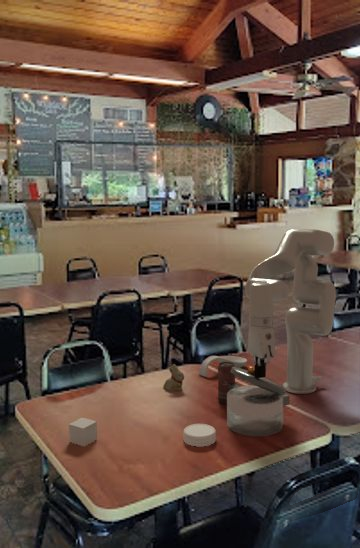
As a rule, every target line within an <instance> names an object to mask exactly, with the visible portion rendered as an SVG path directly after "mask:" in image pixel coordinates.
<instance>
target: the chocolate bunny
mask: <svg viewBox="0 0 360 548" xmlns="http://www.w3.org/2000/svg"><path fill="white" fill-rule="evenodd" d="M168 370H169V372H170V374H171V377H169V378H167V379H165V382H164V384H163V385H162V386H163V389H165V390H166V391H171V392H180V391H182V390H183V381H184V380H185V374H184V373H183V371H181V370H180V369H179V367H178V366H177V365H176V364H175V363H173V364H172V365H171V366H169V367H168Z"/></svg>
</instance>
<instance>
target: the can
mask: <svg viewBox="0 0 360 548" xmlns="http://www.w3.org/2000/svg"><path fill="white" fill-rule="evenodd" d="M232 367H235V365H234V363H231V362H222V363H220V362H219V363H218V366H217V390H218V391H217V400H218V402H219V403H221V404H224V405H227V393H228V392H229V391H230V390H231V389H229V388H228V383H234V382H235V383H236V376H235V375H234V374H232V373H231V369H232Z"/></svg>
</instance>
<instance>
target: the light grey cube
mask: <svg viewBox="0 0 360 548" xmlns="http://www.w3.org/2000/svg"><path fill="white" fill-rule="evenodd" d="M97 424H98V423H97V421H96V420H92V419H90V418H85V417H80V418H78V419H76V420H74V421H72V422H71V423H68V431H69V432H68V434H69V443H70V442H72V443H71V444H73V443H75V444H74V445H76V444H78V445H77V446H79V445H81V446H80V447H83V446H84V447H83V448H85V447H87V446H89V445H90V444H92V443H94V442H96V441H98V425H97ZM95 440H96V441H95ZM88 444H89V445H88ZM86 445H87V446H86Z"/></svg>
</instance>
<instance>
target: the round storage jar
mask: <svg viewBox="0 0 360 548" xmlns="http://www.w3.org/2000/svg"><path fill="white" fill-rule="evenodd" d="M228 388H229V389H231V390H230V391H229V392H228V393H227V404H226V425H227V428H228V429H229V430H230V431H232V432H234V433H236V434H239V435H242V436H246V437H247V436H248V437H268V436H272V435H276V434H278V433H280V432H281V431H282V430H283V425H284V407H285V406H290V395H289V394H287V393H285V395H280V394H276V393H273V392H270V391H268V390H265V389H262V388H260V387H258V386H255V385H242V386H240V385H239V384H237V383H236V381H235V382H234V383H228Z"/></svg>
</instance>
